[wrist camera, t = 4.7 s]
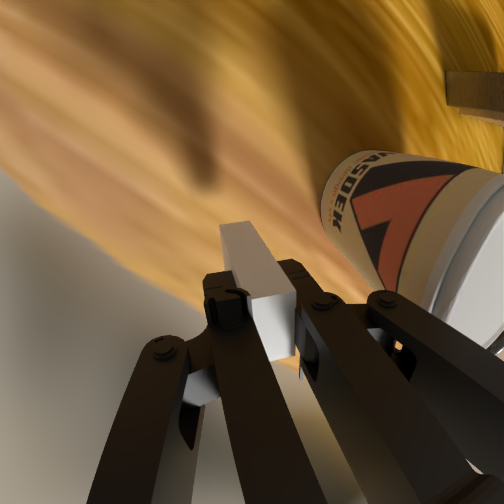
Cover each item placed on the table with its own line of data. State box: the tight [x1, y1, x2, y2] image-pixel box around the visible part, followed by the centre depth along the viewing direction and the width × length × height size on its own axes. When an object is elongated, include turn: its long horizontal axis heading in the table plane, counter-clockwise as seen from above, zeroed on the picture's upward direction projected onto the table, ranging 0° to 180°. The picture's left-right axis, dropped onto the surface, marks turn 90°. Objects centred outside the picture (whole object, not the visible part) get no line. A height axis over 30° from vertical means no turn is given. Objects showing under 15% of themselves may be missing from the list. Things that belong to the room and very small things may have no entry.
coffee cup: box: [321, 150, 504, 349], centre depth 14 cm, size 9×9×12 cm
